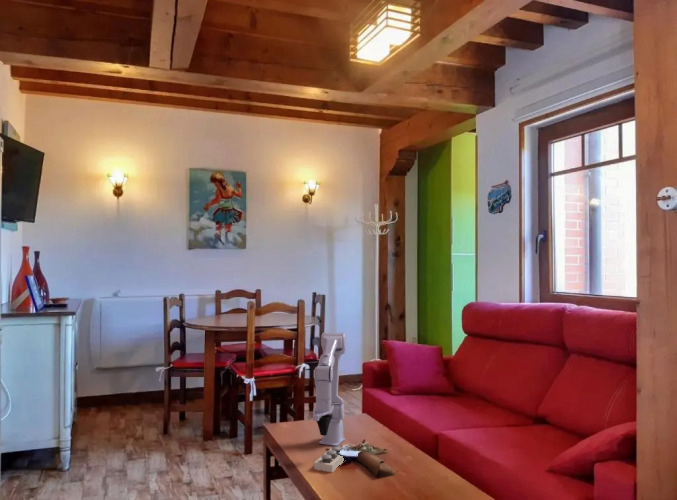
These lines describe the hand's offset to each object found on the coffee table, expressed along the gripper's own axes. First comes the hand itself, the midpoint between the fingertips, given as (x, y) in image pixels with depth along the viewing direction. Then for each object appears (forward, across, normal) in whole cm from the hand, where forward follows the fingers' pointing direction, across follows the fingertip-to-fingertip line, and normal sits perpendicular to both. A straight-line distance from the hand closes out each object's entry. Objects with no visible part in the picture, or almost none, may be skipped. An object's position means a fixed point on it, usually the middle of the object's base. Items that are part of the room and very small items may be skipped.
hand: (323, 434), depth 202 cm
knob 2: (+8, -1, +5) cm, 10 cm away
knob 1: (+8, +8, +4) cm, 12 cm away
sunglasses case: (+10, 0, +21) cm, 23 cm away
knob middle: (+8, +3, +5) cm, 10 cm away
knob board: (+9, +3, +5) cm, 10 cm away
